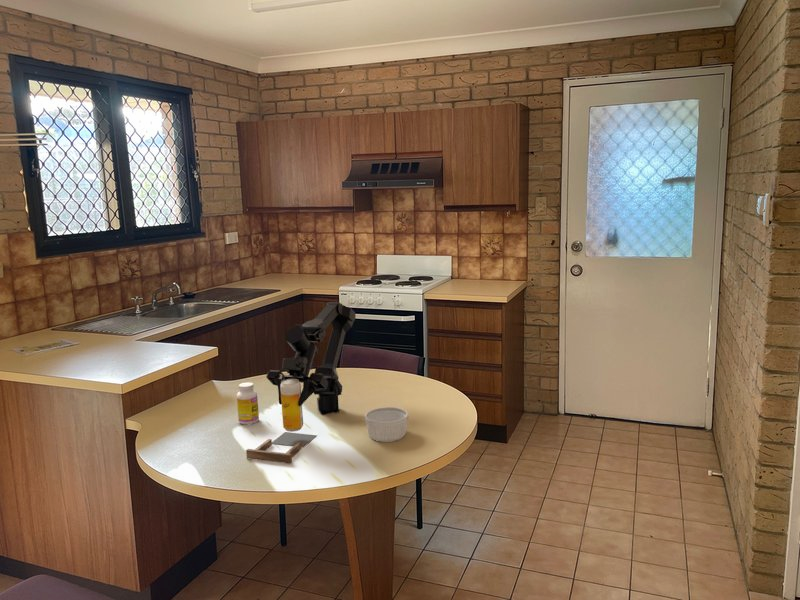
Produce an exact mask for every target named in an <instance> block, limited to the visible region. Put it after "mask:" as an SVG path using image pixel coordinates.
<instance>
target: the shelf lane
mask: <svg viewBox="0 0 800 600" xmlns="http://www.w3.org/2000/svg"><path fill="white" fill-rule="evenodd" d="M272 442H273V440H272V439H271V438H267V440H265V441H264V442H263V443H261V444H260V445H258V446H257V447H256V448H255V449H251V448H247V449H246V450H245V454H246V459H247V458H250V459H249V460H255V459H257V461H265V462H266V461H267V462H272V463H273V462H274V463H282V464H289V465H290V464H292V463H293V457H294V456H296V454H298V453H299V452H300V451H301V450H302V449H303V447H302V443H301V442H298V443H297V444H296V445H294V446H291V448H289V450H288V451H286V452H285V453H284V452H278V451H271V450H270V451H268V449H270V448H271V447H272V446H273V444H272Z"/></svg>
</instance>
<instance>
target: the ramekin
mask: <svg viewBox="0 0 800 600" xmlns="http://www.w3.org/2000/svg"><path fill="white" fill-rule="evenodd" d="M408 419H409V413H408V411H407V410H405V409H403V408H401V407H395V406H384V407H383V406H381V407H377V408H373V409H370V410H368V411H367V412H366V413H365V415H364V421H365V423H366V424H365V425H366V430H367V434H368V436H369V438H371V440H373V441H375V440H376V442H379V441H381V443H392V442H397V441H399V440H401V439H403V438H404V436H405V435H406V434H407V426H408Z"/></svg>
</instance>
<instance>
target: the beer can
mask: <svg viewBox="0 0 800 600" xmlns="http://www.w3.org/2000/svg"><path fill="white" fill-rule="evenodd" d="M301 385H302V384H301V382H299V380H298V379H286V380H283V381H282V382H281V385H280V390H281V403H282V404H281V415H282V427H283V429H284V430H285V432H290V433H294V432H297V431H300V430H302V428H303V427H304V415H303V404H302V405H301V406H299V405H298V402H299V399H300V396H301V393H302V386H301Z"/></svg>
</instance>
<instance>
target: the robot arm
mask: <svg viewBox="0 0 800 600" xmlns="http://www.w3.org/2000/svg"><path fill="white" fill-rule="evenodd" d="M355 320H356V312H355V311H354V310H353V308H350V307H348V306H346V305H344V304H343V303H341V302H339V301H338V302H337V301H335V302H334V301H333V302H331V301H329V302H327V303H326V304H325V307H324V308H323V309H322V310H321V311H320V312H319V313H318V314H317V316H315V318H313V319H312V320H308V321H306V322H304V323H302V324H294V326H293V327H292V328H290V329H288V331H287V332H286V333H285V334H284V335H285V338H284V339H285V341H286V342H287V344H289V346H290V347H291V348H292V350H293V351H294V352H296V353H295V356H294V357H292V358H282V367H281V369H282V370H285V372H286V373H287V374H284V373H283V372H282V370H279V369H277V370H275V369H270V370H268V372H266V373H267V374H266V377H265V378H266V379H267V380H268V381H269V382H270V384H272V385H273V386H277V393H278V404H279V405H281V406H282V403H281V390H280V385H281V382H282V381H283V380H286V379H298V380H299V382H300V384H301V383H303V384H302V389H301V396H300V399H299V402H298V405H299V406H301V405H302V406H303V404H304V403H305V402H306V401H307V400H308V399H309V398H310V397H312V395H318V397H317V398H316V402H317V411H318V412H319V414H321V415H327V414H336V413H340V412H341V410H340V408H339V396H341V395H342V392H343V385H342V383H341V382H340V381H339V375H338V372H337V366H338V363H339V359H340V355H341V352H342V347H343V344H344V342H345V341H344V340H345V337H346V333H347V332H348V331H350V330H351V328H353V324H354V321H355ZM330 324H331V328H332V329H331V333H330V336H329V339H328V344H327V348H326V351H325V355H324V357H323V358H324V359H323V362H322V365H321V366H316V367H315V370H314V372H311V373H310V371H311V370H313V369H314V367H313V361H314V358H315V356H316V354H319V350H318V348H317V345H316V344H315V343H321V342H323V339H324V338H325V337H326V334H327V333H326V329H327V328H328V327H329V325H330Z"/></svg>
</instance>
